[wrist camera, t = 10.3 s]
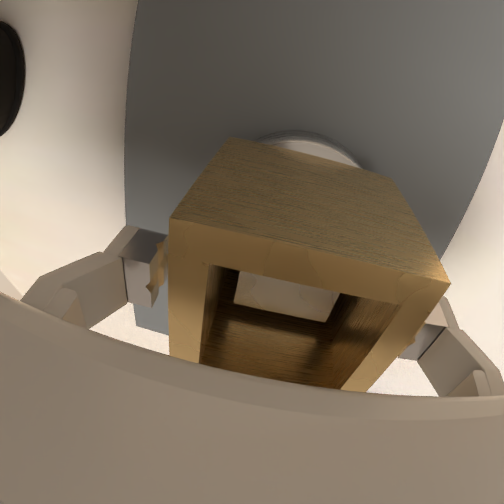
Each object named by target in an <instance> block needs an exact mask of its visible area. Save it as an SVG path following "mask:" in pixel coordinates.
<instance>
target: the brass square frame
mask: <svg viewBox="0 0 504 504" xmlns="http://www.w3.org/2000/svg"><path fill="white" fill-rule="evenodd" d="M240 271H243V272H248V273H252V274H257V275H261V276H266V277H270V278H274V279H279V280H283V281H288V282H293V283H297V284H302V285H306V286H311V287H316V288H320V289H325V290H330V291H334V292H339V293H340V294H339V296H338V298H337V300H336V302H335V304H334V306H333V308H332V310H331V312H330V314H329V316H328V318H327V320H326V322H321V321H316V320H311V319H305V318H300V317H296V316H291V315H286V314H281V313H276V312H272V311H267V310H262V309H258V308H253V307H249V306H244V305H240V304H236V303H234V298H235V293H236V288H237V283H238V278H239V273H240ZM450 284H451V283H450V281H449V279H448V276H447V274H446V272H445V270H444V268H443V266H442V264H441V262H440V260H439V258H438V257H437V255H436V253H435V251H434V249H433V247H432V245H431V243H430V241H429V240H428V238H427V236H426V234H425V232H424V231H423V229H422V227H421V225H420V224H419V222H418V220H417V218H416V217H415V215H414V213H413V212H412V210H411V208H410V207H409V205H408V203H407V202H406V200H405V198H404V197H403V195H402V194H401V192H400V191H399V189H398V187H397V186H396V184H395V183H394V181H393V180H392V178H389V177H386V176H383V175H380V174H377V173H374V172H370V171H367V170H364V169H361V168H357V167H354V166H351V165H347V164H344V163H340V162H337V161H333V160H329V159H326V158H322V157H318V156H314V155H310V154H306V153H302V152H298V151H294V150H290V149H286V148H281V147H277V146H273V145H268V144H264V143H259V142H254V141H249V140H244V139H239V138H234V137H229V138H228V139H227V141H226V142H225V143H224V144H223V146H222V147H221V148H220V149H219V151H218V152H217V153H216V155H215V156H214V157H213V158H212V160H211V161H210V162H209V164H208V165H207V166H206V168H205V169H204V170H203V172H202V173H201V174H200V176H199V177H198V178H197V180H196V181H195V182H194V184H193V185H192V186H191V188H190V189H189V191H188V192H187V193H186V195H185V196H184V197H183V199H182V200H181V202H180V203H179V204H178V206H177V207H176V209H175V210H174V211H173V213H172V214H171V216H170V217H169V236H168V324H169V352H170V356H173V357H176V358H180V359H184V360H188V361H191V362H195V363H199V364H203V365H207V366H211V367H216V368H220V369H224V370H229V371H233V372H238V373H242V374H247V375H252V376H257V377H262V378H267V379H273V380H278V381H284V382H290V383H296V384H302V385H309V386H316V387H323V388H330V389H338V390H347V391H356V392H366V391H367V390H368V389H369V388H370V387H371V386H372V385H373V384H374V383H375V381H376V380H377V379H378V378H379V377H380V376H381V375H382V374H383V372H384V371H385V370H386V369H387V368H388V367H389V366H390V364H391V363H392V362H393V361H394V360H395V358H396V357H397V356H398V355H399V354H400V352H401V351H402V350H403V349H404V348H405V346H406V345H407V344H408V343H409V341H410V340H411V339H412V337H413V336H414V335H415V334H416V332H417V331H418V330H419V328H420V327H421V326H422V324H423V323H424V322H425V320H426V319H427V318H428V316H429V315H430V313H431V312H432V311H433V309H434V308H435V306H436V305H437V304H438V302H439V301H440V299H441V298H442V296H443V295H444V293H445V292H446V290H447V289H448V287H449V286H450Z"/></svg>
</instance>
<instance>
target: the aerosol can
mask: <svg viewBox="0 0 504 504" xmlns="http://www.w3.org/2000/svg"><path fill="white" fill-rule="evenodd" d="M23 83H24V61H23V54H22V49H21V46H20V43H19V40H18V38H17V36H16V34H15V32H14V31H13V29H12V28H11V27H10V26H9V25H7V24H6V23H4V22H0V136H2V135H3V134H4V133H5V132H6V131H7V130H8V129H9V127H10V126H11V124H12V123H13V121H14V119H15V116H16V114H17V112H18V109H19V105H20V102H21V97H22V92H23Z"/></svg>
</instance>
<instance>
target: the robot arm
mask: <svg viewBox="0 0 504 504" xmlns="http://www.w3.org/2000/svg"><path fill="white" fill-rule="evenodd" d="M168 236H169V235H167V234H163V233H159V232H155V231H151V230H147V229H143V228H138V227H134V226H130V225H127V226H124V228H123V229H122V230H121V231H120V232H119V234H118V235H117V236H116V237H115V238H114V240H113V241H112V242H111V243H110V244H109V246H108V247H107V248H106V249H105V251H104V252H97V253H94V254H92V255H90V256H87V257H85V258H82V259H80V260H78V261H75V262H73V263H70V264H68V265H66V266H63V267H61V268H59V269H56V270H54V271H52V272H49V273H47V274H45V275H43V276H40V277H39V278H38V279H37V280H36V282H35V283H34V284H33V285H32V287H31V288H30V289H29V290H28V291H27V293H26V294H25V295H24V297H23V298H22V299H21V300H20V301H19V300H16V299H14V298H12V297H10V296H8V295H6V294H4V293H2V292H0V504H504V382H503V379H502V376H501V373H500V370H499V369H498V368H497V367H496V366H495V365H494V364H493V362H492V361H491V360H490V359H489V358H488V357H487V356H486V355H485V353H484V352H483V351H482V350H481V349H480V348H479V347H478V346H477V345H476V344H475V343H474V341H473V340H472V339H471V338H470V337H469V336H468V335H467V334H466V333H465V332H464V331H463V330H460V329H459V326H458V324H457V321H456V319H455V316H454V314H453V311H452V309H451V306H450V304H449V302H448V299H447V298H446V297H445V296H442V298H441V299H440V301H439V302H438V304H437V305H436V306H435V308H434V309H433V311H432V312H431V313H430V315H429V316H428V318H427V319H426V320H425V322H424V323H423V324H422V326H421V327H420V328H419V330H418V331H417V332H416V334H415V335H414V336H413V337H412V339H411V340H410V341H409V343H408V344H407V345H406V346H405V348H404V349H403V350H402V351H401V352H400V354H399V355H398V358H402V359H409V360H416V361H417V362H418V364H419V365H420V367H421V368H422V370H423V372H424V373H425V375H426V376H427V378H428V379H429V381H430V383H431V384H432V386H433V387H434V389H435V390H436V392H437V394H438V395H439V397H433V396H407V395H391V394H378V393H366V392H356V391H347V390H338V389H330V388H323V387H316V386H309V385H302V384H296V383H290V382H284V381H278V380H273V379H267V378H262V377H257V376H252V375H247V374H242V373H238V372H233V371H229V370H224V369H220V368H216V367H211V366H207V365H203V364H199V363H195V362H191V361H188V360H184V359H180V358H176V357H173V356H169V355H166V354H162V353H159V352H155V351H152V350H149V349H145V348H142V347H139V346H136V345H133V344H130V343H126V342H123V341H120V340H117V339H114V338H112V337H109V336H106V335H103V334H100V333H97V332H94V331H92V330H89V329H90V328H91V327H93V326H94V325H96V324H97V323H99V322H100V321H102V320H103V319H105V318H106V317H108V316H109V315H111V314H112V313H114V312H115V311H117V310H118V309H120V308H121V307H123V306H124V305H126V304H127V302H130V303H134V304H137V305H141V306H145V307H149V308H152V307H153V305H154V303H155V301H156V299H157V297H158V295H159V287H160V286H162V285H164V283H165V281H166V279H167V275H168V253H167V252H168Z"/></svg>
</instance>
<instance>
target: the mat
mask: <svg viewBox="0 0 504 504" xmlns="http://www.w3.org/2000/svg"><path fill="white" fill-rule="evenodd" d="M503 119H504V0H138V5H137V11H136V18H135V24H134V31H133V38H132V46H131V54H130V64H129V74H128V86H127V100H126V118H125V155H124V175H125V212H126V226H127V225H130V226H134V227H138V228H143V229H147V230H151V231H155V232H159V233H163V234H167V235H169V217H170V216H171V214H172V213H173V211H174V210H175V209H176V207H177V206H178V204H179V203H180V202H181V200H182V199H183V197H184V196H185V195H186V193H187V192H188V191H189V189H190V188H191V186H192V185H193V184H194V182H195V181H196V180H197V178H198V177H199V176H200V174H201V173H202V172H203V170H204V169H205V168H206V166H207V165H208V164H209V162H210V161H211V160H212V158H213V157H214V156H215V155H216V153H217V152H218V151H219V149H220V148H221V147H222V146H223V144H224V143H225V142H226V141H227V139H228V138H229V137H234V138H239V139H244V140H249V141H255V140H257V139H259V138H260V137H263V136H265V135H268V134H271V133H275V132H280V131H287V130H303V131H309V132H315V133H318V134H321V135H324V136H327V137H329V138H331V139H333V140H335V141H336V142H338V143H339V144H341V145H342V146H344V147H345V148H346V149H347V150H348V151H350V152H351V153H352V154H353V155H354V157H355V158H356V159H357V160H358V161H359V163H360V165H361V166H362V168H363V169H364V170H367V171H370V172H374V173H377V174H380V175H383V176H386V177H389V178H392V180H393V181H394V183H395V184H396V186H397V187H398V189H399V191H400V192H401V194H402V195H403V197H404V198H405V200H406V202H407V203H408V205H409V207H410V208H411V210H412V212H413V213H414V215H415V217H416V218H417V220H418V222H419V224H420V225H421V227H422V229H423V231H424V232H425V234H426V236H427V238H428V240H429V241H430V243H431V245H432V247H433V249H434V251H435V253H436V255H437V257H438V258H439V260H440V259H441V257H442V256H443V254H444V252H445V250H446V248H447V247H448V245H449V243H450V241H451V239H452V237H453V236H454V234H455V232H456V230H457V228H458V226H459V224H460V222H461V220H462V218H463V216H464V214H465V212H466V210H467V208H468V206H469V204H470V202H471V200H472V198H473V195H474V193H475V191H476V189H477V187H478V184H479V182H480V180H481V177H482V175H483V173H484V170H485V168H486V166H487V163H488V161H489V158H490V156H491V153H492V150H493V148H494V145H495V142H496V140H497V137H498V134H499V131H500V128H501V125H502V122H503ZM167 253H168V252H167ZM133 305H134V313H135V320H136V326H139V327H142V328H145V329H149V330H152V331H155V332H159V333H162V334H166V335H169V324H168V275H167V279H166V281H165V283H164V285H162V286H160V287H159V295H158V297H157V299H156V301H155V303H154V305H153V307H152V308H149V307H145V306H141V305H137V304H134V303H133Z"/></svg>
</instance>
